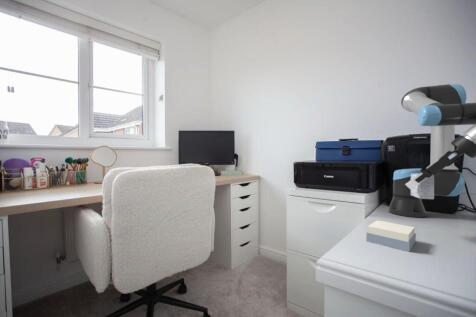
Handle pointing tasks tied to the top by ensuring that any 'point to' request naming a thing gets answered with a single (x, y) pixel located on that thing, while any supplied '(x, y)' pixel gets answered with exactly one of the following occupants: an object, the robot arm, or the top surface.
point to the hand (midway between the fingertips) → (410, 186)
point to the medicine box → (424, 188)
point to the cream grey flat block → (391, 235)
